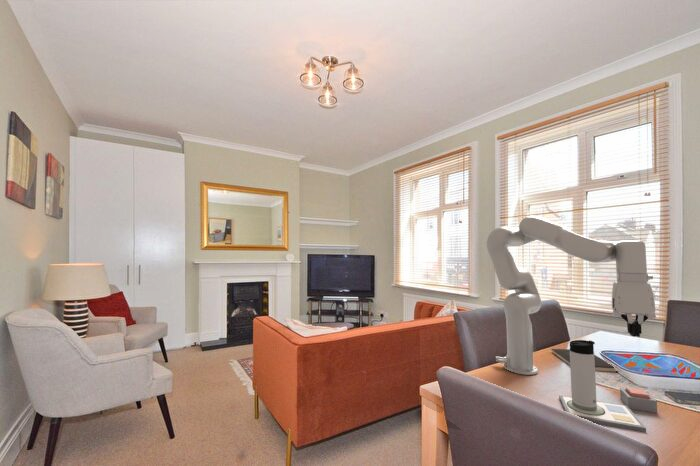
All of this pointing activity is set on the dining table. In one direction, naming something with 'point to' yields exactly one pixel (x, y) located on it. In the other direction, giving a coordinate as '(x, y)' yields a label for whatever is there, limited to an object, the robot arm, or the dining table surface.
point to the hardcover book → (599, 363)
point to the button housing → (638, 402)
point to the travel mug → (583, 375)
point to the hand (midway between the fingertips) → (634, 335)
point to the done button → (637, 393)
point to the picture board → (606, 414)
